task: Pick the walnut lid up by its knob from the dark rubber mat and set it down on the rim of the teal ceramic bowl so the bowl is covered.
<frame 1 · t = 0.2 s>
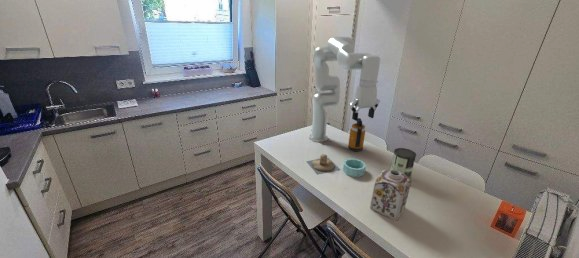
hand: (362, 118, 121), 31 cm above the table, fingers open, 9 cm apart
mat: (322, 166, 138), on the table
bowl: (353, 171, 133), on the table
coffee can: (399, 176, 131), on the table
lid: (323, 165, 137), point 1 cm above the table, touching mat
canister: (355, 149, 158), on the table
decorative jar: (387, 208, 108), on the table
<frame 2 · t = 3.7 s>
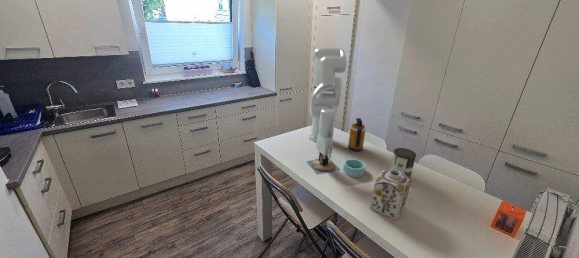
hand: (323, 162, 137), 2 cm above the table, fingers closed on lid, 3 cm apart
lid: (322, 165, 137), point 1 cm above the table, touching gripper, mat
everything else where it was.
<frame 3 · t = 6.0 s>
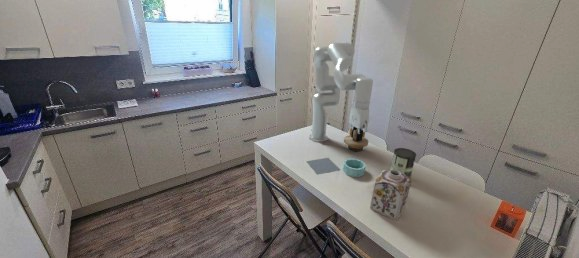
hand: (356, 138, 126), 20 cm above the table, fingers closed on lid, 3 cm apart
lid: (355, 141, 127), point 18 cm above the table, touching gripper
everything else where it was.
when the fingers open (8 cm above the table, at t = 8.5 s): lid drops 1 cm, resting on bowl.
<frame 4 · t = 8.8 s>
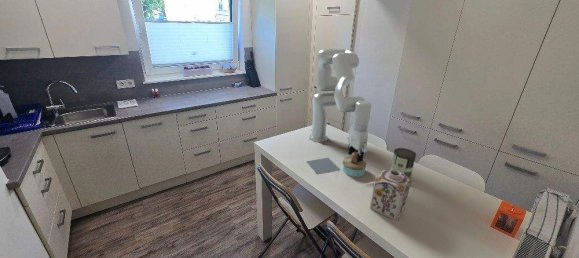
hand: (355, 157, 130), 9 cm above the table, fingers open, 7 cm apart
lid: (354, 163, 131), point 5 cm above the table, touching bowl
everything else where it was.
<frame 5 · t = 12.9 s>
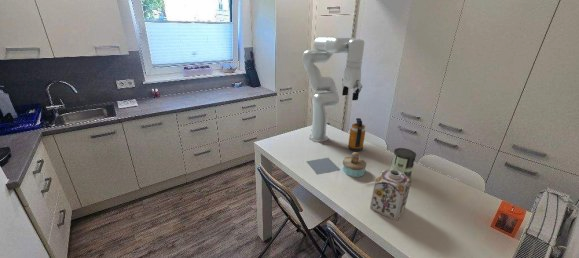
hand: (349, 97, 134), 36 cm above the table, fingers open, 9 cm apart
nothing on the table moved.
at the end: lid 0.1 cm from the bowl (horizontally); lid 0.1 cm off-centre on the bowl, point 5.0 cm above the bowl's base; lid tilted 0°; the gripper is holding nothing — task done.
